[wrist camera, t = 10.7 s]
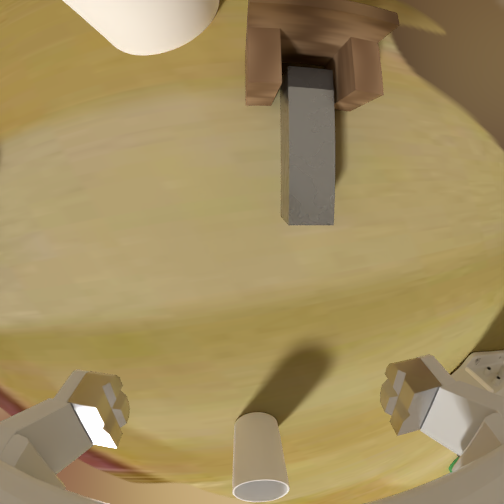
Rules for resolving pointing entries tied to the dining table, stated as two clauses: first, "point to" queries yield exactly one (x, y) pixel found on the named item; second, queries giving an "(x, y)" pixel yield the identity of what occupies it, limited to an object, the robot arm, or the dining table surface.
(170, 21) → the canister
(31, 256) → the dining table surface
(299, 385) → the dining table surface
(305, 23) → the wooden chair block
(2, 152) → the dining table surface
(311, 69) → the rectangular grey metal block
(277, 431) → the mug
